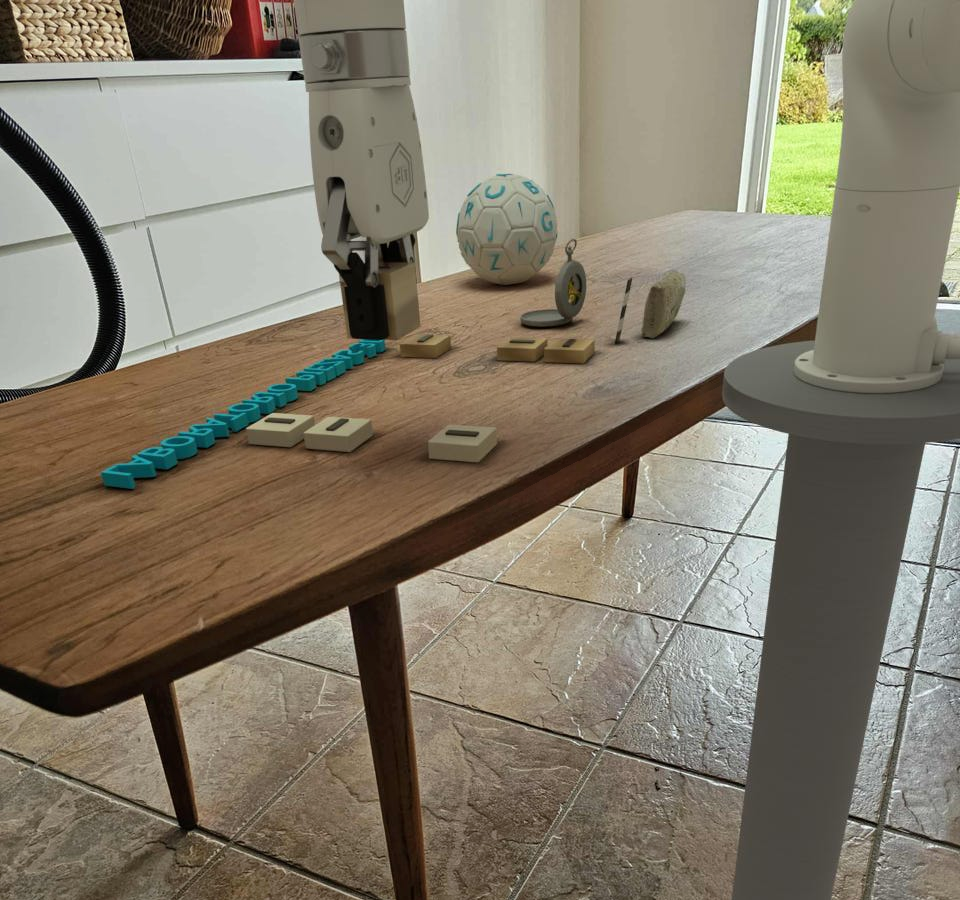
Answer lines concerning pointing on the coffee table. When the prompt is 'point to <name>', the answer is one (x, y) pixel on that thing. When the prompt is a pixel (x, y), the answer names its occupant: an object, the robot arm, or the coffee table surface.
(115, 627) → the coffee table surface
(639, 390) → the coffee table surface
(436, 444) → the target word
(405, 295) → the letter block
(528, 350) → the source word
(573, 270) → the pocket watch
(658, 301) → the stone and scale-bar
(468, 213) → the puzzle ball
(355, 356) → the text ornament
